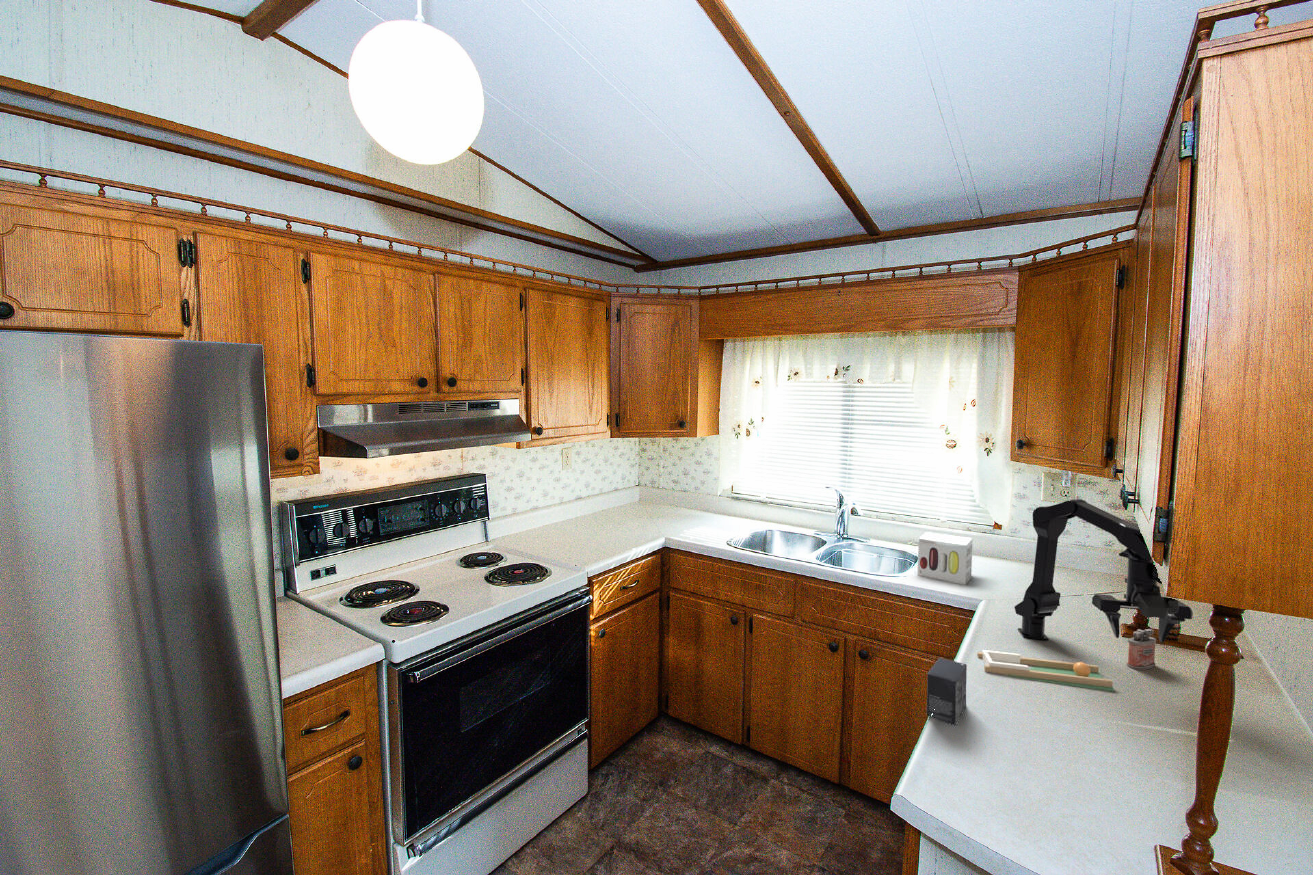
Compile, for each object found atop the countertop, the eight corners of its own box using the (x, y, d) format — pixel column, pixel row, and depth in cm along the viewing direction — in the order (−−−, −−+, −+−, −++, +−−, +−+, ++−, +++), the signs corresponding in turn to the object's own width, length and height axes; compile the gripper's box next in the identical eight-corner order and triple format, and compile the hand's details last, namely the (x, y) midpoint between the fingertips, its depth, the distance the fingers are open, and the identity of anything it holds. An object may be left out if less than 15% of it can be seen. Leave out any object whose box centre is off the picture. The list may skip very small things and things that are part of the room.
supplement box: (916, 583, 226) (917, 537, 225) (924, 575, 237) (925, 531, 236) (965, 592, 216) (967, 544, 215) (972, 583, 226) (973, 537, 225)
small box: (936, 698, 140) (938, 656, 139) (966, 707, 136) (968, 663, 135) (924, 717, 132) (925, 672, 131) (956, 727, 128) (957, 681, 127)
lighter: (1136, 671, 153) (1138, 634, 153) (1123, 665, 156) (1125, 629, 156) (1158, 667, 155) (1160, 630, 155) (1145, 661, 159) (1147, 626, 158)
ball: (1070, 672, 152) (1071, 658, 151) (1086, 673, 150) (1087, 660, 150) (1075, 678, 148) (1076, 664, 148) (1092, 680, 147) (1093, 666, 147)
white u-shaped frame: (981, 658, 160) (982, 649, 159) (1019, 662, 157) (1019, 653, 157) (989, 671, 152) (989, 662, 152) (1028, 676, 149) (1028, 666, 149)
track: (976, 657, 161) (976, 650, 161) (1095, 671, 153) (1095, 663, 153) (986, 675, 151) (986, 668, 151) (1114, 691, 143) (1114, 683, 142)
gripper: (1111, 584, 139) (1108, 648, 140) (1208, 592, 134) (1204, 658, 135) (1092, 571, 150) (1089, 630, 151) (1181, 578, 144) (1177, 639, 145)
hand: (1138, 639), depth 145 cm, fingers open, 9 cm apart
